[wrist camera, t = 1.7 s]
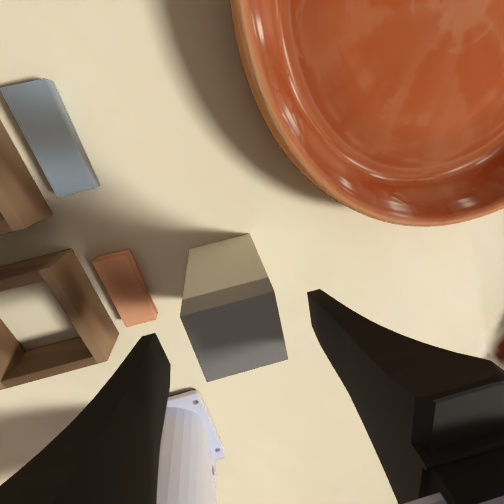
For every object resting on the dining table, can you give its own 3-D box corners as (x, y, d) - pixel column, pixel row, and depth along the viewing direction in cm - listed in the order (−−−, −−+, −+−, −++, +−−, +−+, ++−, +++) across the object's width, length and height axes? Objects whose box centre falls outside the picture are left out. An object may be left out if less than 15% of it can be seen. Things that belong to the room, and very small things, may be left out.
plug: (261, 284, 19) (288, 359, 13) (206, 298, 19) (206, 382, 13) (249, 233, 17) (274, 291, 11) (189, 248, 17) (180, 316, 11)
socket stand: (162, 322, 19) (156, 347, 17) (21, 359, 19) (-4, 390, 16) (43, 58, 12) (6, 42, 10) (-184, 106, 12) (-275, 100, 10)
